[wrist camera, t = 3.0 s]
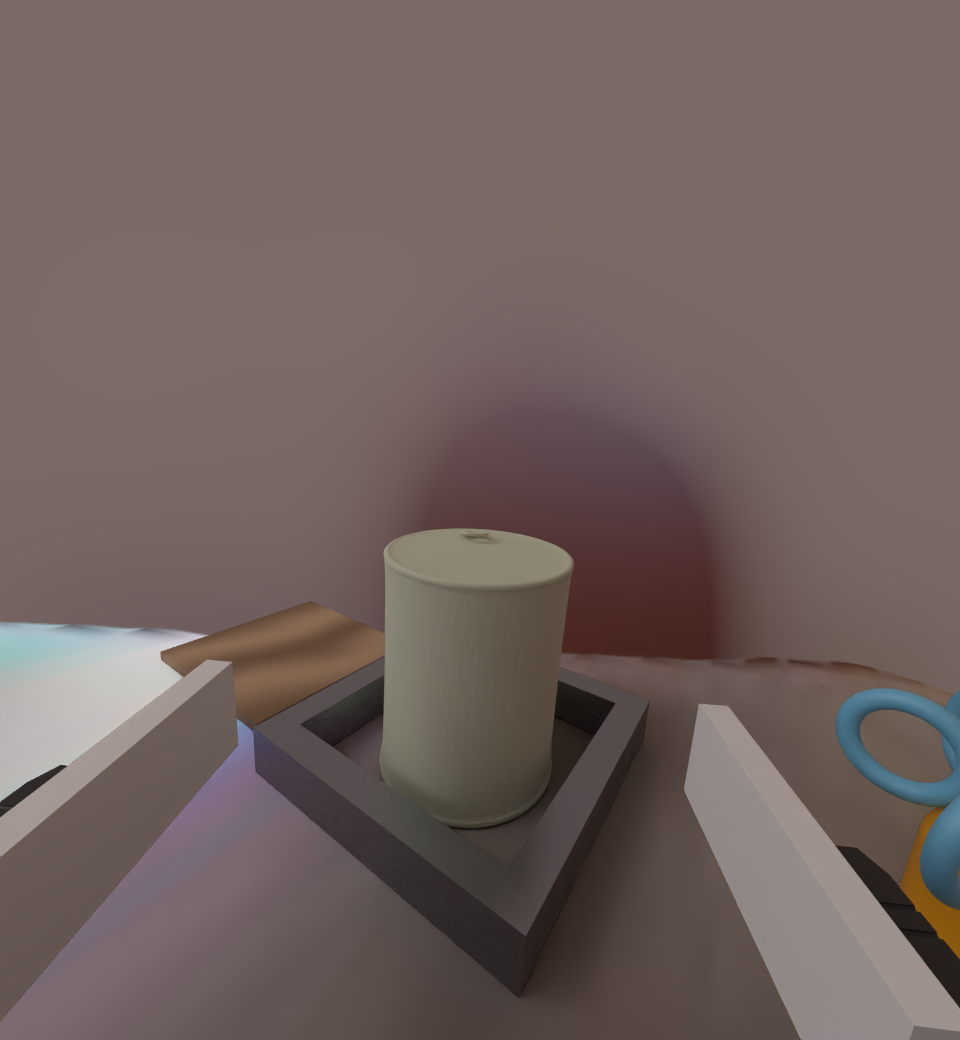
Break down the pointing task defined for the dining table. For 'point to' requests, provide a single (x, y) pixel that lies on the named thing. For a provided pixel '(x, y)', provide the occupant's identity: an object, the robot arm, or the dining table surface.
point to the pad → (283, 657)
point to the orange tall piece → (943, 831)
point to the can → (472, 671)
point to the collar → (434, 846)
